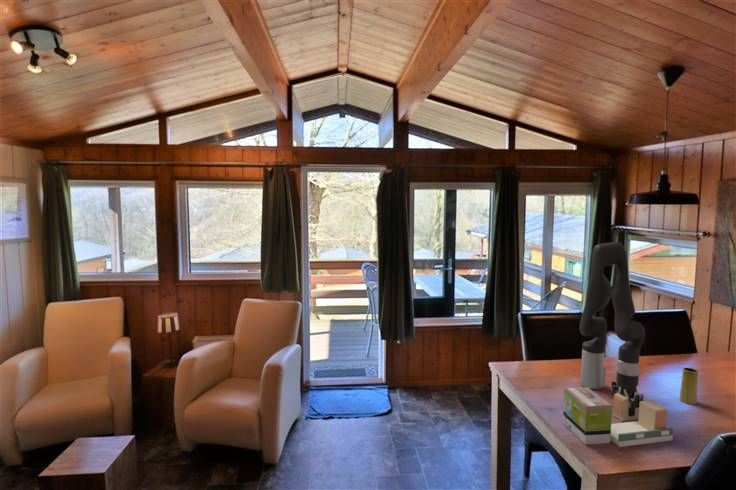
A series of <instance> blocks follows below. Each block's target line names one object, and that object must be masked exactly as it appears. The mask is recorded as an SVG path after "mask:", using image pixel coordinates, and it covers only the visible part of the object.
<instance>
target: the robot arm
mask: <svg viewBox="0 0 736 490" xmlns="http://www.w3.org/2000/svg"><path fill="white" fill-rule="evenodd" d="M592 249H593V250H592V254H591V255H592V257H591V268H590V277H589V279H588V280H589V281H588V285H587V286H588V287H587V290H586V296H585V301H584V302H585V303H584V306H583V311H582V314H581V317H580V321H579V332H580V334H581V335H582V336H586V337H594V338H593V339H591V340H588V341H584V342H583V343H582V347H581V348H582V350H581V370H580V385H581V386H582V387H588V388H589V389H590V390H597V391H598V390H602V389H603V388H605V387H606V385H605V383H606V367H605V352H606V351H605V348H606V339H607V338H606V337H607V330H608V329H607V328H608V327H607V326H608V324H607V320H606V318H605V317H602V316H595V314H597V313H598V312H599V311H600V310H602V309H603V308H604V307H605V306H606V307H607V305H608V304H609V302H610V299H611V302H612V306H613V309H614V331H615V335H616V336H617V337H618V340H621V341H623V342H624V343H623V344H621V345H619V347H618V357H617V363H616V375H615V376H616V378H615V381H614V380H613V381H611V384H610V385H611V390H612V396H613V397H614V394H617V393H618V394H622V395H624V396H625V397H626V398H627V399H628V401H629V409H628V415H629V416H634V415H635V408H639V404H640V401H644V400H643V399H644V394H642V393H641V394H640V393H639V392H638V390H637V389H638V388H637V387H638V386H639V382H640V381H639V379H640V352H641V349H642V347H643V344H644V341H645V338H646V330H645V327H644V326H643V324H642V323H641V322H638V321H631V317H632V316H634V315H635V314H636V310H635V309H636V307H635V305H634V301H633V296H632V292H631V287H630V274H629V266H628V255H627V252H626V248H625V247H624V245H623V243H622V242H619V241H615V242H614V241H612V242H605V243H599V244H596V245H595V246H594V247H593V248H592ZM614 265H615V268H616V278H615V281H614V284H613V287H612V284H611V282H610V281H609V280H608V278H607V276H605V274H604V272H605V271H604V270H605V268H606V266H607V267H608V266H614ZM632 397H633V398H634V399H630V398H632ZM631 401H633V404H632V403H631Z"/></svg>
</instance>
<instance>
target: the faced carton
mask: <svg viewBox="0 0 736 490" xmlns="http://www.w3.org/2000/svg"><path fill="white" fill-rule="evenodd" d="M667 417H668V408H666V407H664V406H662V405H661V404H659V403H657V402H655V401H653V400H642V401H640V404H639V409H638V420H637V421H638V424H639V425H640V426H642V427H644V428H645V429H647V430H656V429H664V428H667Z"/></svg>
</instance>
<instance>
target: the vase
mask: <svg viewBox="0 0 736 490" xmlns="http://www.w3.org/2000/svg"><path fill="white" fill-rule="evenodd" d="M698 375H699V371H698V370H697V369H696V368H692V367H682V377H681V384H680V385H681V386H680V392H679V400H680V402H682V403H684V404H687V405H697V404H698V379H699V378H698Z"/></svg>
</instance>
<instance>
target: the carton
mask: <svg viewBox="0 0 736 490" xmlns="http://www.w3.org/2000/svg"><path fill="white" fill-rule="evenodd" d="M616 393H617V392H616ZM630 399H634V398H633V397H632V398H630ZM631 403H632V404H633V401H631ZM628 409H629V401H628V399H627V398H626V397H625V396H624V395H622V394H618V393H617V394H614V396H613V405H612V416H614V417H615V418H617V419H618V420H620V421H622V422H630V421H635V420H636V421H638V420H639V408H635V415H634V416H629V415H628Z"/></svg>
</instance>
